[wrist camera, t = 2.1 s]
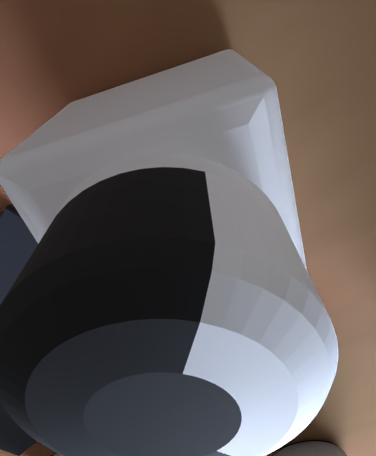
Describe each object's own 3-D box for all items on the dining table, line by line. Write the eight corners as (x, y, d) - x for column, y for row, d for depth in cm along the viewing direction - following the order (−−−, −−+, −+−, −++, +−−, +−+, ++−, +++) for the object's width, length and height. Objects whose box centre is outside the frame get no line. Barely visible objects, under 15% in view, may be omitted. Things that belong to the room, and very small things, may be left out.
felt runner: (183, 312, 21) (183, 317, 20) (20, 450, 28) (19, 456, 28) (9, 204, 17) (5, 208, 17) (-125, 397, 25) (-129, 403, 24)
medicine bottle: (130, 240, 18) (64, 537, 8) (65, 102, 15) (-211, 318, 4) (268, 203, 17) (396, 488, 7) (234, 45, 14) (397, 148, 3)
